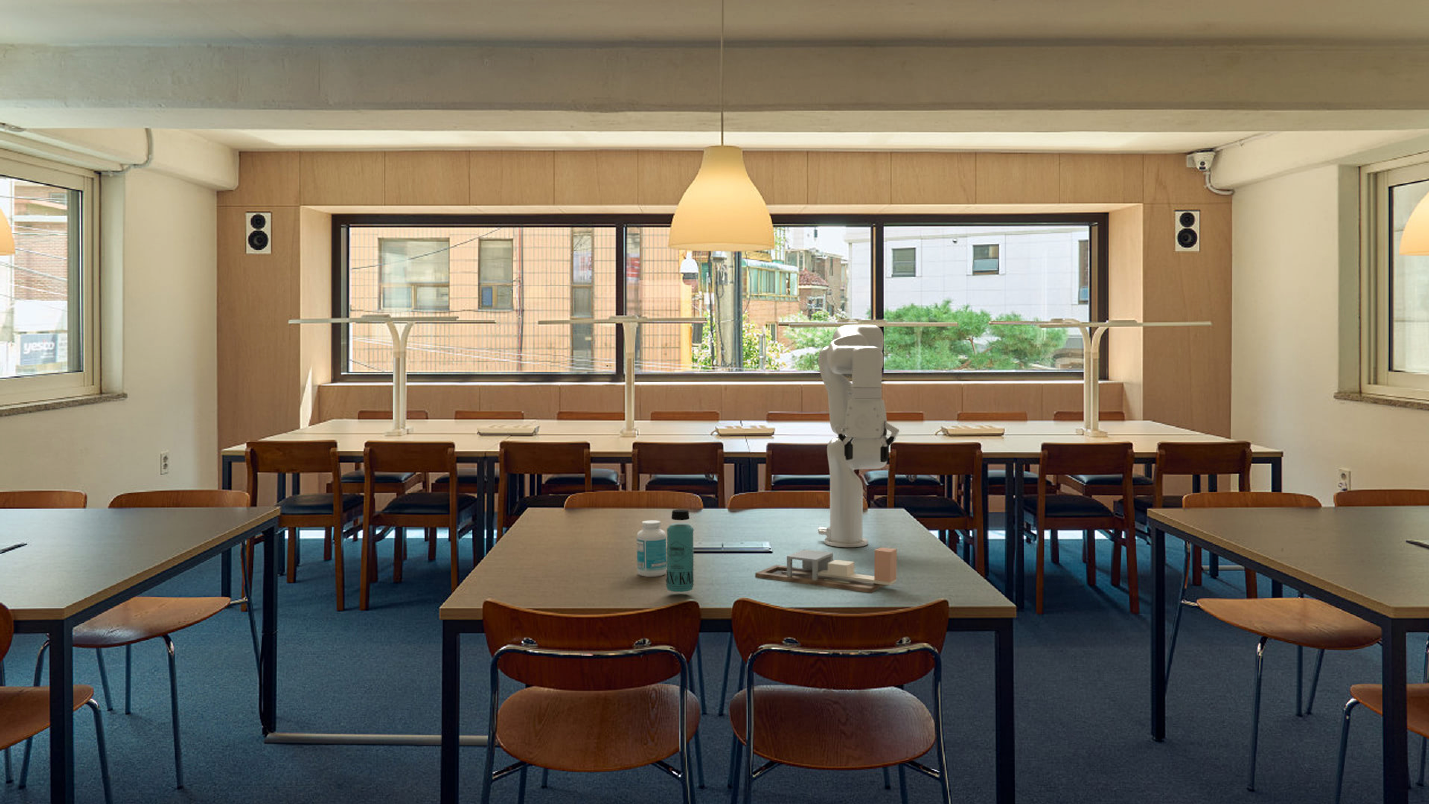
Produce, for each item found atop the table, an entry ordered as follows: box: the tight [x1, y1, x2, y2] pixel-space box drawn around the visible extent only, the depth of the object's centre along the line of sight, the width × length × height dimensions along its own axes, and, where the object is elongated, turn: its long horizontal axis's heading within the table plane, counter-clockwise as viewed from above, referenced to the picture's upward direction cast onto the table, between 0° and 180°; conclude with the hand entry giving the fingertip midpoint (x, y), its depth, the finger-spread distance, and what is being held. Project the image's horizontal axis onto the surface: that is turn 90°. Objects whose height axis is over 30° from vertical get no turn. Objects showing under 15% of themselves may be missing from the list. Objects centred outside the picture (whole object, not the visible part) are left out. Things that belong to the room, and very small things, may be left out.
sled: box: [818, 547, 898, 586], centre depth 237 cm, size 19×5×8 cm, turn 58°
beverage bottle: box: [665, 508, 695, 593], centre depth 227 cm, size 6×7×20 cm
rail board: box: [754, 564, 885, 594], centre depth 243 cm, size 31×11×2 cm, turn 58°
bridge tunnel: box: [786, 549, 834, 580], centre depth 244 cm, size 8×10×5 cm
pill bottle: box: [636, 519, 667, 578], centre depth 249 cm, size 8×7×14 cm
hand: (866, 460), depth 254 cm, fingers open, 9 cm apart
